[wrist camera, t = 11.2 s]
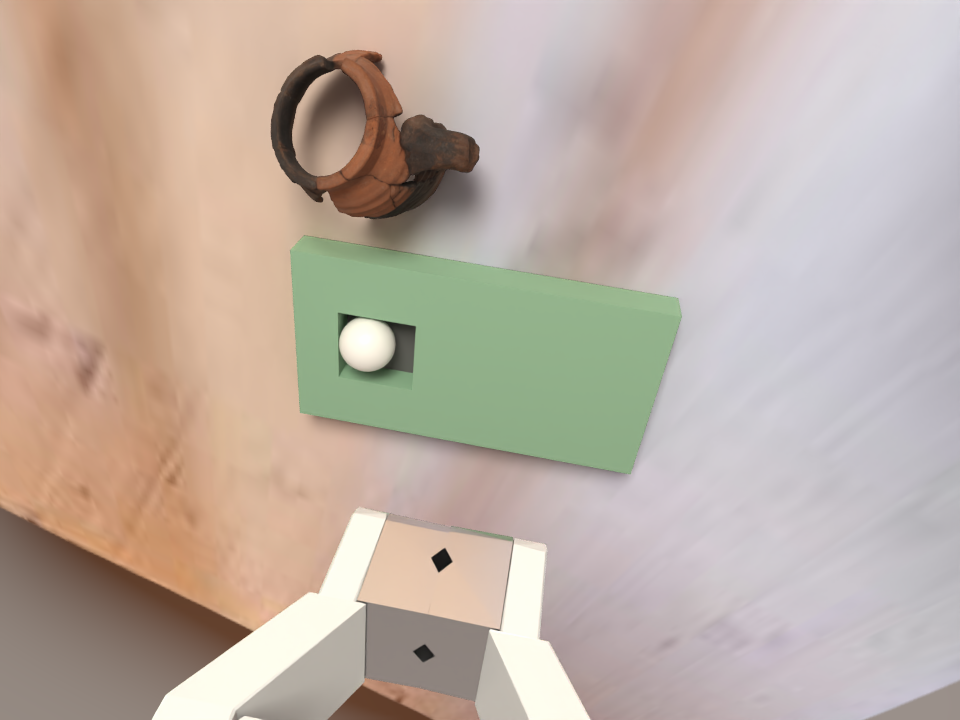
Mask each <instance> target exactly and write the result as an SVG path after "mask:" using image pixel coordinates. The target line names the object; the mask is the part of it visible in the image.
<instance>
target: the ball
mask: <svg viewBox="0 0 960 720" xmlns="http://www.w3.org/2000/svg"><path fill="white" fill-rule="evenodd" d="M395 347H396V341H395V336H394V333H393V331H392V329H391V328H390V327H389V325H388V324H387V323H386V322H384V321H383V320H378V319H372V318H366V317H358V318H355V319H353V320H352V321H350V322H349V323H348V324H347V325H346V326H345V327H344V329H343V330H342V332H341V335H340V339H339V349H340V352H341V355H342V357H343V359H344V360H345V361H346V363H347V364H348V365H350V366H351V367H353V368H354V369H357V370H359V371H364V372H371V371H376V370H378V369H381V368H382V367H384V366H385V365H386V364H387V363H388V362H389V361H390V360H391V358H392V357H393V355H394V352H395Z"/></svg>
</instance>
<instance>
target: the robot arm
mask: <svg viewBox="0 0 960 720" xmlns="http://www.w3.org/2000/svg"><path fill="white" fill-rule="evenodd" d="M546 559H547V547H546V544H542V543H537V542H532V541H527V540H522V539H517V538H514V540H513V537H509V536H503V535H498V534H492V533H487V532H482V531H476V530H471V529H465V528H460V527H454V526H451V527H449V526H445V525H440V524H436V523H431V522H427V521H422V520H418V519H413V518H409V517H404V516H400V515H395V514H391V513H385V512H380V511H376V510H371V509H366V508H362V507H358V508H357V509H356V510H355V512H354V513H353V514H352V516H351V518H350V521H349V523H348V525H347V528H346V530H345V533H344V535H343V537H342V540H341V542H340V544H339V547H338V549H337V551H336V554H335V556H334V558H333V561H332V563H331V565H330V568H329V570H328V572H327V575H326V577H325V580H324V582H323V584H322V587H321V589H320V591H319V594H318V593H312V592H308V593H307V594H305V595H304V596H303V597H301V598H300V599H298V600H297V601H296V602H294V603H293V604H291V605H290V606H289V607H287V608H286V609H285V610H283V611H282V612H280V613H279V614H278V615H276V616H275V617H273V618H272V619H271V620H269V621H268V622H266V623H265V624H264V625H262V626H261V627H259V628H258V629H257V630H255V631H254V632H253V633H251V634H250V635H248V636H247V637H246V638H244V639H243V640H241V641H240V642H239V643H238V644H236V645H235V646H233V647H232V648H230V649H229V650H227V651H226V652H225V653H223V654H222V655H220V656H219V657H218V658H217V659H215V660H214V661H212V662H211V663H209V664H208V665H207V666H205V667H204V668H202V669H201V670H200V671H198V672H197V673H195V674H194V675H193V676H191V677H190V678H188V679H187V680H186V681H185V682H183V683H182V684H180V685H179V686H177V687H176V688H175V689H173V690H172V691H170V692H169V693H168V694H166V696H165V697H164V699H163V701H162V703H161V704H160V706H159V708H158V710H157V711H156V713H155V715H154V717H153V718H152V720H327V719H328V718H329V717H330V716H331V715H332V714H333V713H334V712H335V711H336V710H337V709H338V708H339V707H340V706H341V705H342V704H343V703H344V702H345V701H346V700H347V699H348V698H349V697H350V696H351V695H352V694H353V693H354V692H355V691H356V690H357V689H358V688H359V687H360V686H361V685H362V684H363V683H364V678H368V679H373V680H379V681H384V682H390V683H395V684H400V685H406V686H411V687H417V688H420V687H421V688H422V689H426V690H430V691H434V692H438V693H442V694H446V695H450V696H454V697H459V698H463V699H467V700H471V701H475V706H476V709H477V712H478V715H479V718H480V720H591V719H590V717H589V716H588V714H587V712H586V710H585V708H584V706H583V704H582V702H581V700H580V699H579V697H578V695H577V693H576V691H575V689H574V687H573V685H572V684H571V682H570V680H569V678H568V676H567V674H566V672H565V670H564V669H563V667H562V665H561V663H560V661H559V659H558V657H557V655H556V653H555V652H554V650H553V648H552V646H551V644H550V642H549V641H545V640H541V639H539V638H540V626H541V615H542V604H543V593H544V581H545V570H546Z"/></svg>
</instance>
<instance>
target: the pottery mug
mask: <svg viewBox="0 0 960 720" xmlns="http://www.w3.org/2000/svg"><path fill="white" fill-rule="evenodd" d="M381 60H382V55H381V54H378V53H377V52H371V51H362V50H352V51H346V52H344V53H342V54H341V53H338V54H335V55H334V56H332V57H329V58H327V59H326V58H325V57H323V56H320V55H317V56H314V57H312V58H310V59H308V60H306V61H305V62H303V63H302V64H301V65H300V66H298V67H297V68H296V69H295V70H294V71H293V72H292V73H291V74H290V75H289V76H288V77H287V79H286V81H285V83H284V84H283V86H282V88H281V92H280V93H279V95H278V97H277V99H276V102H275V104H274V110H273V114H272V119H271V140H272V146H273V149H274V151H275V155H276V157H277V160H278V162H279V163H280V166H281V168H282V169H283V170H284V172H285V174H286V175H287V176H288V177H289V179H290V180H291V181H292V182H293V183H297V184H299V185H300V186H301V187H302V188H303V189H304V191H305V192H306V193H307V194H308V195H309V196H310V197H311V198H312V199H313V200H314V201H316V202H323V198H322V197H321V196H322V194H323V193H325V192H326V191H327V192H328V193H329V194H330V198H331V200H332V201H333V203H334V205H335V207H336V208H337V209H338V211H339V212H341V213H346V214H348V215H350V216H352V217H365V218H370V219H377V218H378V219H382V218H388V217H393V216H397V215H399V214H401V213H403V212H405V211H409V210H412V209H414V208H416V207H418V206H419V205H421V204H422V203H424V202H425V201H426V200H427V199H428V198H430V197H431V195H432V194H433V193H434V192H435V191H436V189H437V187H438V185H439V183H440V182H441V179H442V177H443V175H444V172H445V170H447V169H451V170H456V171H460V172H466V173H468V172H471V171H472V170H473V168H474V166H475V165H476V163H477V161H478V160H479V150H480V149H479V146H478V145H477V144H476V143H475V140H474V139H473V138H472V137H470V136H468V135H466V134H463V133H459V132H455V131H449V130H447V129H446V128H445V126H443V125H442V124H441V123H434V122H433V120H432V119H430V118H427V117H426V116H424V115H417V116H415V117H411V118H408V119H407V120H406V121H405V122H404V123H403V125H402V127H401V132H400V131H399V130H398V128H397V126H396V125H395V122H394V117H397V116H399V115H401V114H402V112H403V110H402V107H401V105H400V103H399V101H398V99H397V97H396V95H395V94H394V92H393V89H392V87H391V85H390V84H389V82H388V81H387V80H386V78H385V77H384V76H383V75H382V73H381V71H380V70H379V69H378V68H377V67H376V66H375V65H374V64H373V62H379V61H381ZM335 69H341V70H342V72H343V73H344V74H346V75H347V76H349V77H350V78H351V79H352V80H353V81H354V82H355V83H356V84H357V86H358V88H359V90H360V92H361V94H362V97H363V100H364V105H365V111H366V118H367V122H366V126H365V132H364V135H363V138H362V141H361V144H360V146H359V148H358V150H357V152H356V154H355V155H354V157H353V158H352V159H351V161H350V162H349V163H348V164H347V165H346V166H345V167H344V168H342V169H341V170H340V171H338V172H336V173H334V174H332V175H328V176H319V177H317V176H313V175H311V174H309V173H307V172H306V171H305V170H304V169H303V168H302V167H301V166H300V164H299V163H298V161H297V160H296V154H295V150H294V148H293V143H292V129H293V123H294V118H295V113H296V108H297V105H298V104H299V102H300V101H301V99H302V97H303V95H304V94H305V92H306V90H307V88H308V87H309V85H310V84H311V83H312V82H313V81H314V80H315V79H317V78H318V77H320V76H321V75H323V74H326V73H328V72H331V71H333V70H335ZM410 175H415V180H414V181H409V182H405V181H406V180H407V179H408V178H409V176H410Z"/></svg>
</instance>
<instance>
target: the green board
mask: <svg viewBox="0 0 960 720" xmlns="http://www.w3.org/2000/svg"><path fill="white" fill-rule="evenodd" d="M290 254H291V271H292V288H293V304H294V321H295V338H296V354H297V371H298V388H299V404H300V413H304V414H309V415H315V416H320V417H325V418H331V419H336V420H342V421H347V422H352V423H358V424H363V425H368V426H374V427H379V428H384V429H390V430H395V431H401V432H406V433H411V434H417V435H422V436H427V437H433V438H438V439H443V440H449V441H454V442H460V443H465V444H470V445H476V446H481V447H486V448H492V449H497V450H502V451H508V452H513V453H519V454H524V455H529V456H535V457H540V458H545V459H551V460H556V461H561V462H567V463H572V464H578V465H583V466H588V467H594V468H599V469H604V470H610V471H615V472H620V473H626V474H631V471H632V468H633V465H634V462H635V459H636V456H637V453H638V449H639V446H640V443H641V440H642V437H643V434H644V431H645V428H646V425H647V422H648V419H649V416H650V413H651V410H652V406H653V403H654V400H655V397H656V394H657V391H658V388H659V385H660V382H661V379H662V376H663V373H664V370H665V367H666V364H667V360H668V357H669V354H670V351H671V348H672V345H673V342H674V339H675V336H676V333H677V330H678V327H679V324H680V321H681V317H682V315H681V310H680V305H679V300H678V298H674V297H668V296H662V295H656V294H650V293H644V292H638V291H632V290H626V289H621V288H615V287H609V286H603V285H597V284H591V283H585V282H579V281H573V280H567V279H561V278H555V277H549V276H543V275H537V274H531V273H525V272H519V271H513V270H507V269H501V268H495V267H489V266H483V265H478V264H472V263H466V262H460V261H454V260H448V259H442V258H436V257H430V256H424V255H418V254H412V253H406V252H400V251H394V250H388V249H382V248H376V247H370V246H364V245H358V244H352V243H346V242H340V241H335V240H329V239H323V238H317V237H311V236H305V235H304V236H303V237H302V238H301V239H300V240H299V241H298V243H297V244H296V245H295V246H294V247H293V248H292V249H291V250H290ZM358 317H366V318H372V319H378V320H383V321H384V322H386V323H387V324H388V325H389V327H390V328H391V329H392V331H393V333H394V336H395V341H396V347H395V352H394V355H393V357H392V358H391V360H390V361H389V362H388V363H387V364H386V365H385V366H384V367H382V368H381V369H378V370H376V371H371V372H364V371H359V370H357V369H354V368H353V367H351V366H350V365H348V364H347V363H346V361H345V360H344V359H343V357H342V355H341V352H340V349H339V339H340V335H341V332H342V330H343V329H344V327H345V326H346V325H347V324H348V323H349V322H350V321H352V320H353V319H355V318H358Z"/></svg>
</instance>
